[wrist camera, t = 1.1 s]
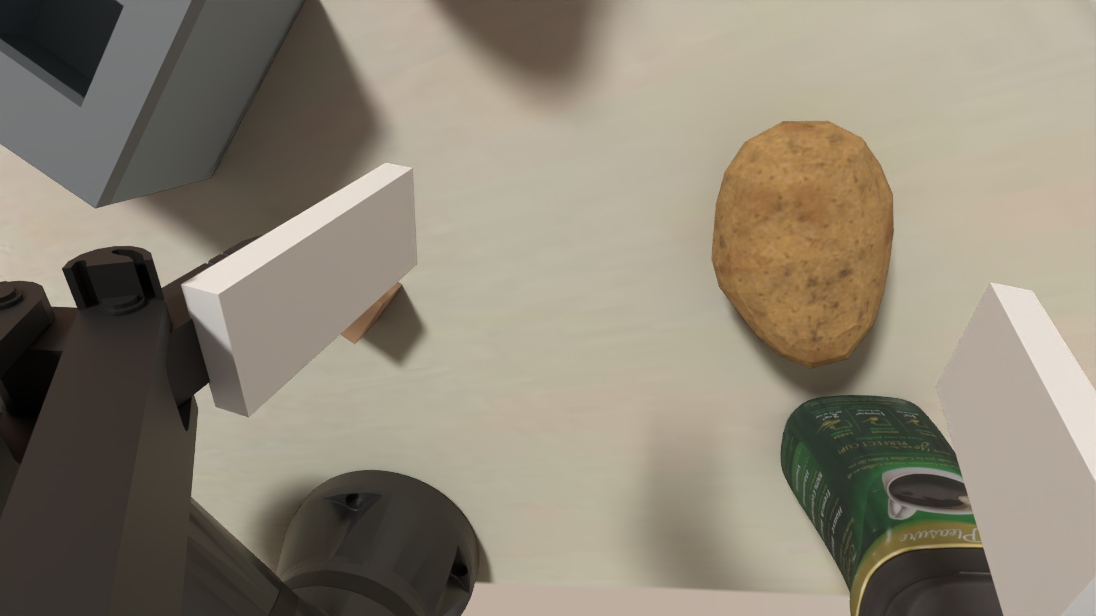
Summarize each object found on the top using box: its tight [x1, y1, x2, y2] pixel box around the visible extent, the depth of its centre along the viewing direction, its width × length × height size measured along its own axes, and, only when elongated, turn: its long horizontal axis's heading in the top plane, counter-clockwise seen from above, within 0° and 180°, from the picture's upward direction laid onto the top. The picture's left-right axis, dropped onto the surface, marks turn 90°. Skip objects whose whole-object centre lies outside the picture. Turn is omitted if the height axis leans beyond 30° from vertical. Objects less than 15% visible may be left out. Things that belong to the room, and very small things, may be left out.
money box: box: [0, 0, 305, 208], centre depth 34 cm, size 14×14×10 cm
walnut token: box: [341, 282, 402, 344], centre depth 41 cm, size 4×6×4 cm, turn 54°
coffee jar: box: [781, 395, 1003, 616], centre depth 35 cm, size 10×8×19 cm
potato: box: [712, 121, 894, 368], centre depth 36 cm, size 10×14×8 cm
